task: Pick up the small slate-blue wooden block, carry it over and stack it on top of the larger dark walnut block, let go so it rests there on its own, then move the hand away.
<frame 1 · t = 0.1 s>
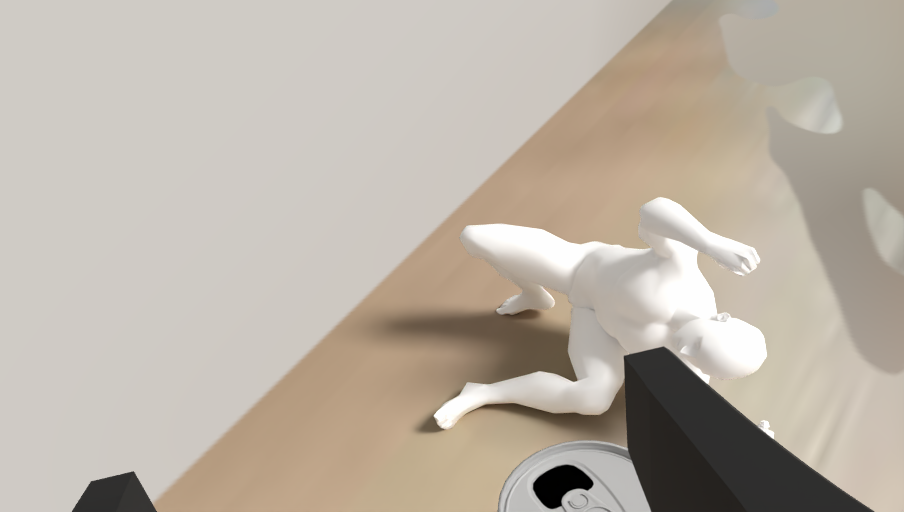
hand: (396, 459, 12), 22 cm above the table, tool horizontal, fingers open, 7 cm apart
person figurine: (611, 388, 45), on the table
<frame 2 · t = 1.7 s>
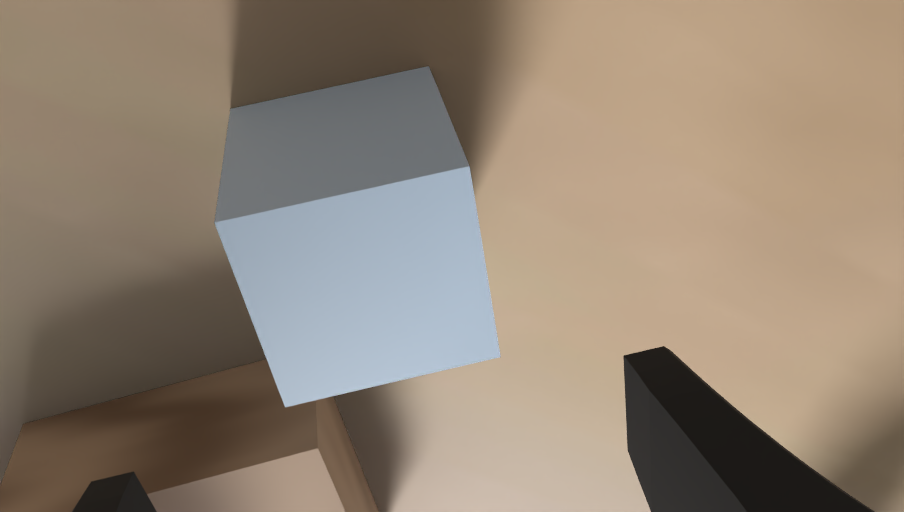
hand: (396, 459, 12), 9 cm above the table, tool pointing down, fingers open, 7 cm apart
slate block: (352, 173, 20), on the table
walnut block: (222, 473, 24), on the table
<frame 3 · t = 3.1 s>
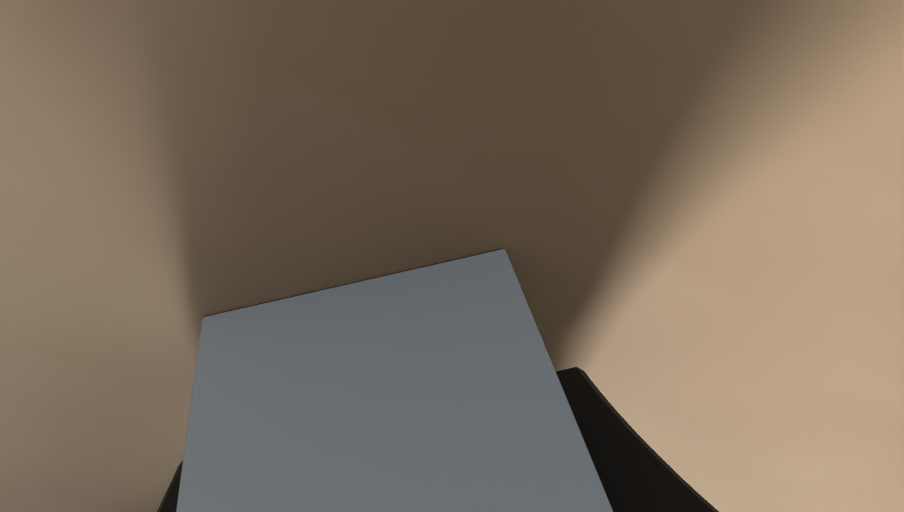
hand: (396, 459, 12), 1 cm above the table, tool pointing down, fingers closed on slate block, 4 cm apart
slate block: (385, 392, 13), on the table, touching gripper
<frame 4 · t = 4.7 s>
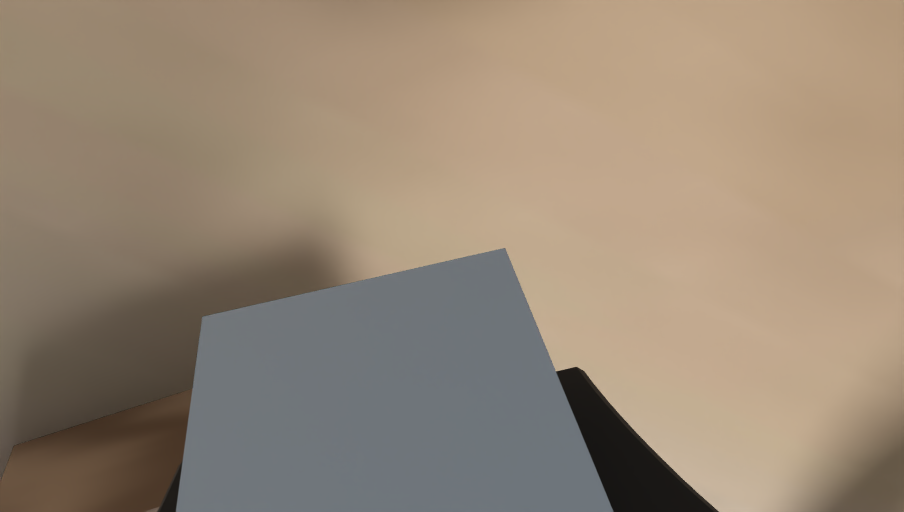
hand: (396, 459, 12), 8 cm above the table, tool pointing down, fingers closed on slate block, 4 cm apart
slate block: (385, 392, 13), point 7 cm above the table, touching gripper
walnut block: (222, 485, 24), on the table
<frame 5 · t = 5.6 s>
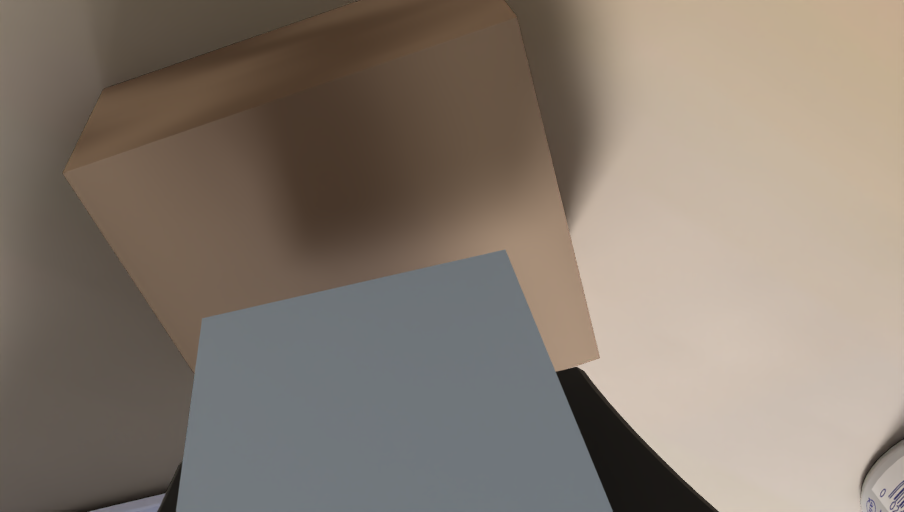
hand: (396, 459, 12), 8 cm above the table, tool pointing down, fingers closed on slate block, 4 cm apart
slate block: (385, 393, 13), point 7 cm above the table, touching gripper
walnut block: (354, 181, 19), on the table
when the fingers open (6 cm above the table, at t = 6.4 s): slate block drops 1 cm, resting on walnut block.
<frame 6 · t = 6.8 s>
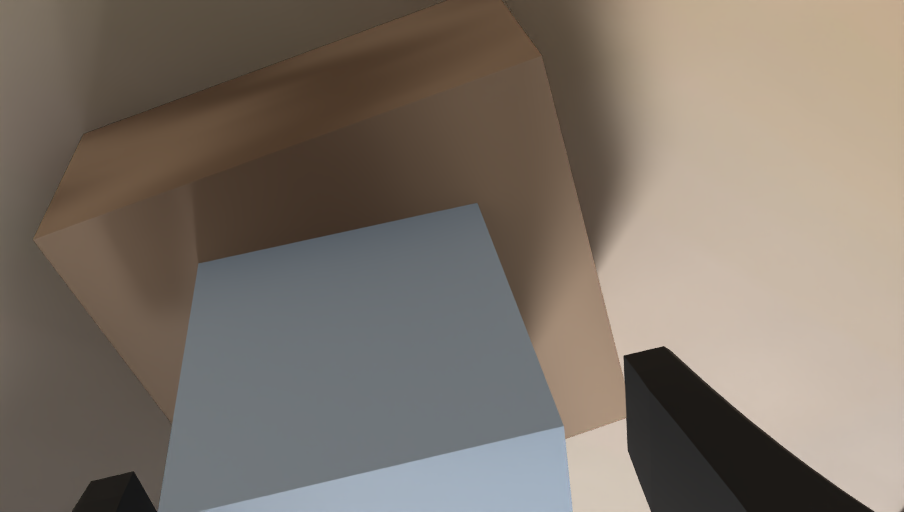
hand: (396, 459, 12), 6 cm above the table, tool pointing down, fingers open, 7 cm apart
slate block: (368, 339, 14), point 4 cm above the table, touching walnut block
walnut block: (361, 222, 18), on the table, touching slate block
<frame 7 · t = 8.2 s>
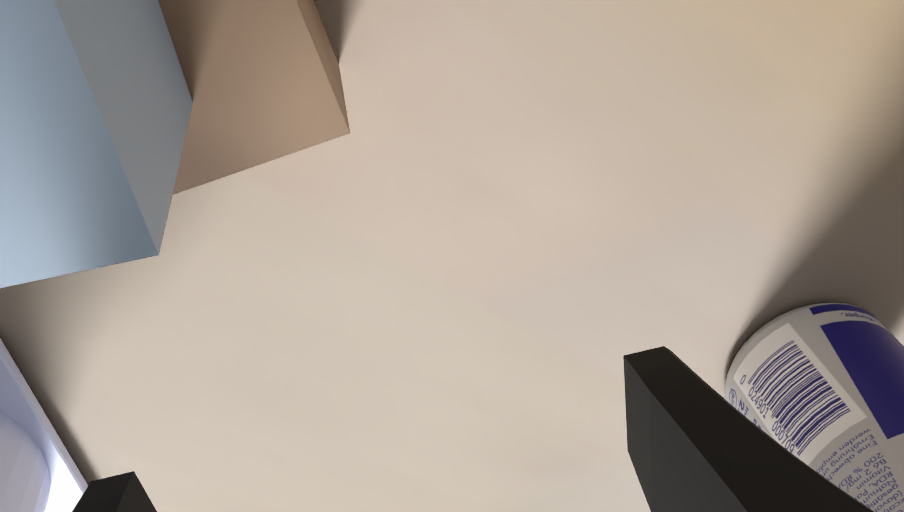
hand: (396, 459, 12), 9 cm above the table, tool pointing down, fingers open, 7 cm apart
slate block: (8, 0, 13), point 4 cm above the table, touching walnut block
energy drink: (795, 359, 26), on the table
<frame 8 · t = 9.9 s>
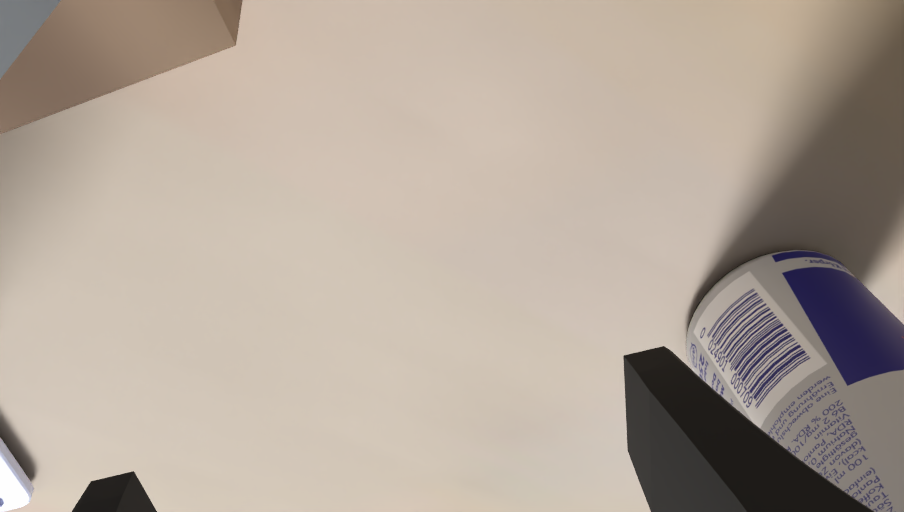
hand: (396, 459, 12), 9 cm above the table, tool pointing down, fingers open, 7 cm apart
energy drink: (761, 313, 25), on the table
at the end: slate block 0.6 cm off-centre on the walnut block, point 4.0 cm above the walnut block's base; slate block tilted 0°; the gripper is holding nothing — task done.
